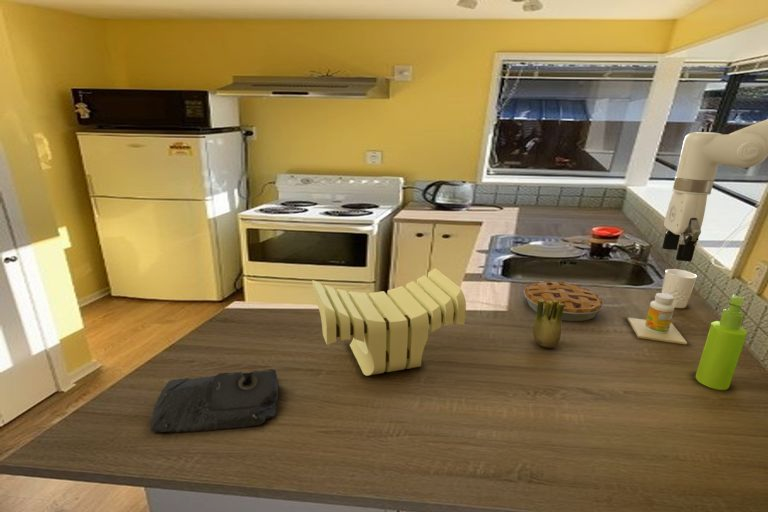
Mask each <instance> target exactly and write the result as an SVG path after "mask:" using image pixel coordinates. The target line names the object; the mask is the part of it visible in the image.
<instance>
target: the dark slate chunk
mask: <svg viewBox="0 0 768 512" xmlns="http://www.w3.org/2000/svg"><path fill="white" fill-rule="evenodd" d="M277 377H278V376H277V371H276V370H275V369H273V368H271V369H266V370H254V371H251V372H242V371H238V372H237V371H235V372H219V373H217V375H211V376H199V377H196V378H195V377H194V378H188V377H187V378H176V379H172V380H169V381H168V382H166V384H165V385H164V387H163V388H162V390H161V392H160V394H159V396H158V397H157V399H156V402H155V404H154V406H153V410H152V411H153V412H152V417H151V418H150V420H149V422H150V423H149V425H150V431H151V432H154V433H155V432H159V433H170V434H171V433H177V434H178V433H181V432H182V433H187V432H190V433H194V432H208V431H218V430H225V429H227V430H230V429H236V428H238V429H239V428H249V427H252V426H253V427H255V426H260V425H263V423H265V421H266V420H267V419H271V418H272V419H273V418H275V416H276V413H277V410H278V408H277V406H276V403H277V401H278V397H279V396H278V395H279V394H278V392H279V382H278V381H279V380H278V378H277ZM248 383H250V385H248Z"/></svg>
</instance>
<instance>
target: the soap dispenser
mask: <svg viewBox="0 0 768 512" xmlns="http://www.w3.org/2000/svg"><path fill="white" fill-rule="evenodd" d="M745 299H746V297H745V296H742V295H737V294H733V295H732V296H731V297H730V300H729V302H728V306H729V305H730V306H729V307H728V308H724V309H723V310H722V314H721V317H720V320H716V321H712V322H711V323H710V326H709V330H708V334H707V337H706V340H705V344H704V346H703V350H702V353H701V356H700V360H699V364H698V366H697V370H696V373H695V380H697V381H698V383H700V384H702V385H703V386H705V387H707V388H710V389H713V390H718V391H726V390H728V389H729V388H730V386H731V383H732V380H733V377H734V373H735V370H736V368H737V365H738V362H739V358H740V355H741V353H742V349H743V347H744V343H745V340H746V338H747V335H748V330H747V329H745V328H744V327H742V324H743V321H744V317H745V314H744V312H742V311H741V309H742V306H743V303H744V302H745Z"/></svg>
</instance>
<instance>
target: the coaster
mask: <svg viewBox="0 0 768 512" xmlns="http://www.w3.org/2000/svg"><path fill="white" fill-rule="evenodd" d="M627 321H628V323H629V324H630V327H631V328H632V330H633V332H634V333H635V335H636V336H637V338H638V339H644V340H652V341H659V342H666V343H673V344H679V345H680V344H681V345H688V341H686V339H685V337H684V336H683V335H682V334H681V332H680V331H679V330H678V328H676V326H675V325H674V324H673V323H672V322H671V323H670V327H669V331H668V332H667V333H665V334H660V333H655V332H652V331H650V330H648V329H647V328H646V327H645V323H646V319H643V318H635V317H627Z"/></svg>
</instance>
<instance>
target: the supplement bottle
mask: <svg viewBox="0 0 768 512" xmlns="http://www.w3.org/2000/svg"><path fill="white" fill-rule="evenodd" d="M673 300H674V297H673V296H671V295H669V294H665V293H662V292H657V293H655V296H654V300H651V301H650V304H649V307H648V312H647V316H646V318H645V320H646V323H645V327H646V328H647V329H648V330H650V331H652V332H655V333H660V334H665V333H667V332H668V331H669V327H670V323H672V320H673V316H674V313H675V312H674V311H675V308H674V306H673V305H672V303H673Z"/></svg>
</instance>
